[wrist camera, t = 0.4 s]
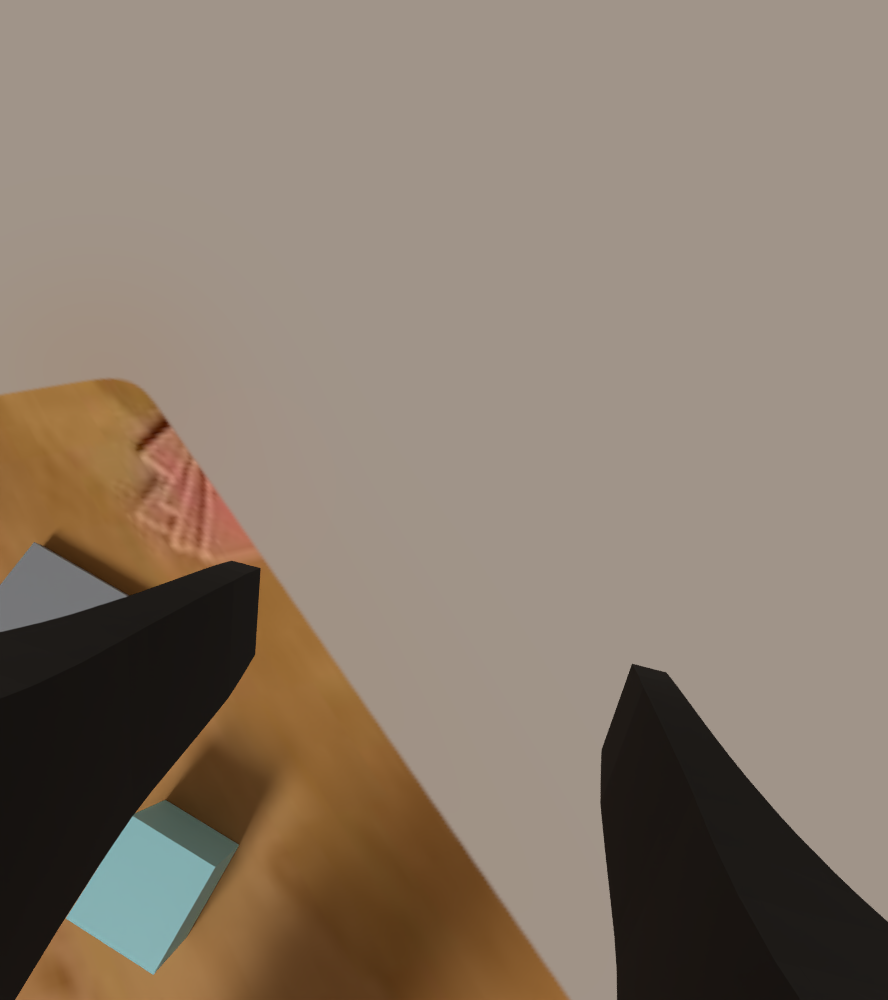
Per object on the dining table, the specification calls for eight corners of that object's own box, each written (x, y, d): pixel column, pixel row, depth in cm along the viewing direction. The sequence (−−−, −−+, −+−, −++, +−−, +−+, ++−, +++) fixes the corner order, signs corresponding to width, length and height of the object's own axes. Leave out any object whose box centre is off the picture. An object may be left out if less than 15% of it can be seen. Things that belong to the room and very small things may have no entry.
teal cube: (186, 937, 32) (153, 974, 28) (109, 889, 33) (65, 918, 29) (239, 844, 34) (215, 866, 30) (165, 799, 34) (131, 815, 30)
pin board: (27, 902, 32) (-19, 927, 29) (-148, 789, 34) (-213, 801, 30) (201, 637, 37) (180, 631, 34) (43, 545, 38) (6, 531, 35)
